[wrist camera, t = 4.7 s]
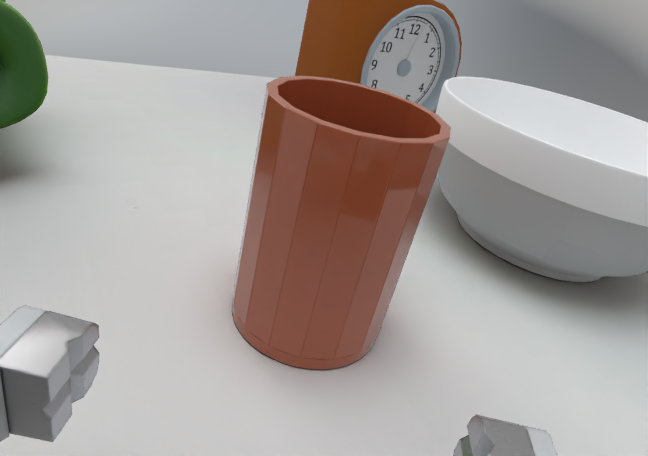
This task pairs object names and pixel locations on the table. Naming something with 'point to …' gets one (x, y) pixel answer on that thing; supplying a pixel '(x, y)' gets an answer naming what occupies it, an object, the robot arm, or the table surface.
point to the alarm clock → (382, 45)
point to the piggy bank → (19, 67)
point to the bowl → (546, 179)
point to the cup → (331, 216)
